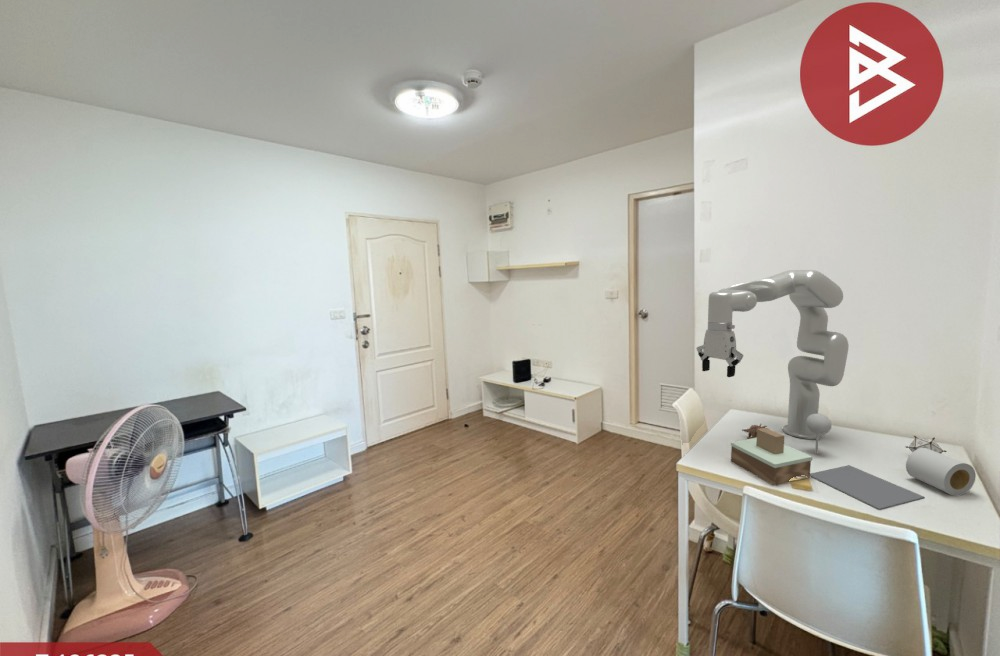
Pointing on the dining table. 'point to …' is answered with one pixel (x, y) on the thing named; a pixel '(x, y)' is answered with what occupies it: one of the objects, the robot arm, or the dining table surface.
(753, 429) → the dinosaur figurine
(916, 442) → the grey rod frame
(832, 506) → the dining table surface
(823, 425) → the lollipop
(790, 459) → the lid
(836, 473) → the mat
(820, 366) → the robot arm
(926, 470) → the toilet paper
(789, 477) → the crate
